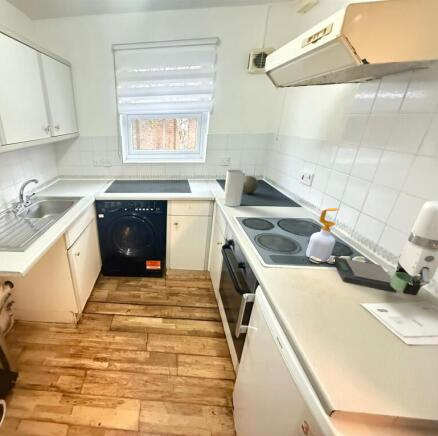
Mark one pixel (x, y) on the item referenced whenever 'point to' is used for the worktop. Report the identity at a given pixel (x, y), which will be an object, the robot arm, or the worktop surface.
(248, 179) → the cantaloupe
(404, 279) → the bowl
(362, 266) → the scale
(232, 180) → the cylinder vase
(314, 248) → the soap bottle
